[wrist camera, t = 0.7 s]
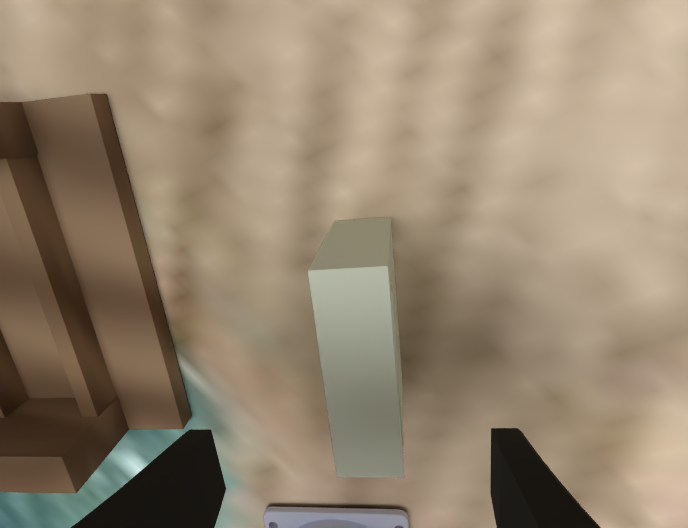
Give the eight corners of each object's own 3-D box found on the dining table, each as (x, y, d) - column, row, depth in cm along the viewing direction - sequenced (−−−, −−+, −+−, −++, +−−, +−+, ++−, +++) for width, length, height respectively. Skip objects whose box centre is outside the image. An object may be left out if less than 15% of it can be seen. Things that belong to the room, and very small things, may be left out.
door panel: (403, 378, 21) (405, 478, 15) (351, 379, 21) (335, 477, 16) (392, 216, 18) (389, 265, 13) (333, 220, 19) (306, 270, 13)
